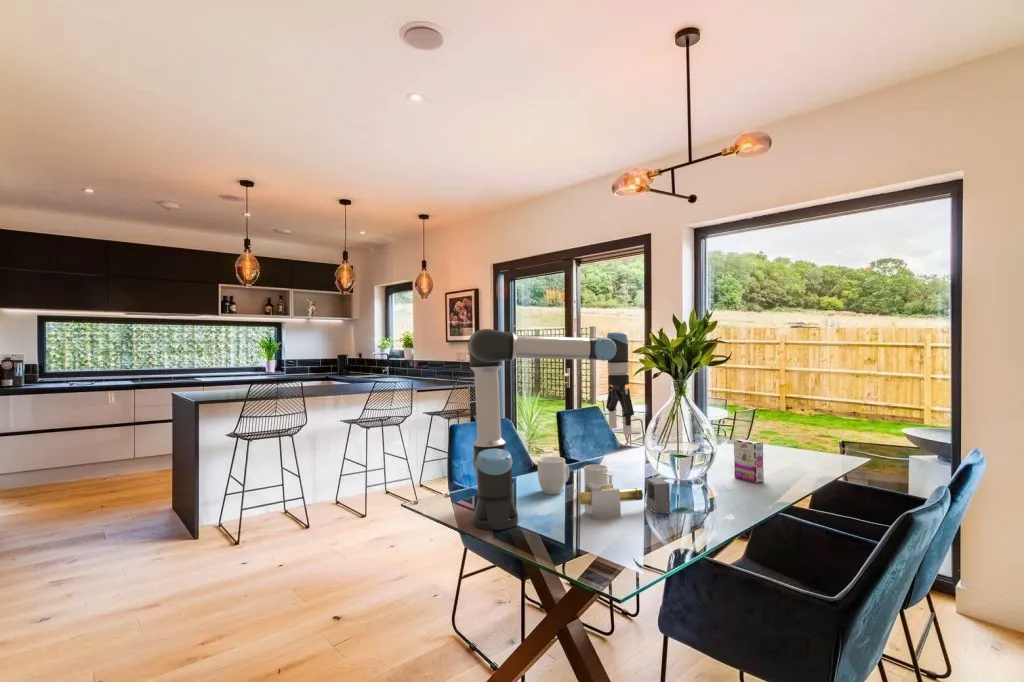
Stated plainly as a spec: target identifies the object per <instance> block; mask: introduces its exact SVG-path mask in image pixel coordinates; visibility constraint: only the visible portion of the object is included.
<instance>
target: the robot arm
mask: <svg viewBox="0 0 1024 682" xmlns="http://www.w3.org/2000/svg"><path fill="white" fill-rule="evenodd" d="M467 351H468V352H469V368H470V369H471V370H472V371H473V372H474V390H475V391H474V392H475V393H474V394H475V414H476V415H475V416H476V434H477V435H476V436H477V438H476V440H475V441H474V442H473V443H472V444H473V460H472V465H473V468H474V471H475V474H476V477H477V478H476V481H477V486H476V487H477V502H476V504H475V507H474V512H473V514H472V515H473V516H472V524H473V526H475V528H478V529H480V530H481V529H482V530H487V531H498V530H499V531H500V530H507V529H510V528H512V527H516V526H517V525H518V523H519V514H518V511H517V507H516V505H515V502H514V499H513V459H512V455H511V452H509V451H508V450H507V443H506V442H507V441H506V440H504V439H503V438H502V426H501V425H502V422H501V402H500V401H501V400H500V398H501V397H500V380H499V379H500V378H499V371H500V370H501V369H502V367H503V362H505V361H507V362H508V361H509V362H511V361H514V360H515V359H548V360H549V359H550V360H551V359H552V360H553V359H554V360H555V359H556V360H589V361H592V360H593V361H594V360H595V361H605V362H606V361H607V373H608V376H607V378H608V382H607V383H608V393H607V394H608V395H607V400H606V406H605V408H606V410H607V411H608V428H609V429H618V427H617V406H618V402H619V405H620V407H621V410H622V422H623V423H622V424H623V425H622V426H623V427H622V429H623V432H622V433H623V436H625V435H632V416H634V415H635V411H634V407H633V402H632V399H631V391H630V388H629V387H628V388H627V387H626V386H627V385H629V384H630V375H629V372H630V371H629V368H630V364H629V336H628V333H626V332H608V333H607V334H606V337H581V336H580V337H578V336H577V337H576V336H545V335H517V334H515V333H514V332H511V331H503V330H497V329H496V330H495V329H493V328H491V329H490V328H482V329H478V330H476V331H475V332H473V334H471V336H470V337H469V339H468V342H467Z"/></svg>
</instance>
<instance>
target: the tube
mask: <svg viewBox="0 0 1024 682" xmlns="http://www.w3.org/2000/svg"><path fill="white" fill-rule="evenodd" d="M577 494H578V495H577V499H578V504H579V505H580V506H582V505H583V506H585V504H591V492H585V491H584V492H578V493H577ZM643 497H644V494H643V490H642V488H640V487H635V488H625V489H624V488H623V489H622V488H621V489H620V503H621V502H622V503H623V502H633V501H642V500H643Z"/></svg>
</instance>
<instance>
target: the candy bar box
mask: <svg viewBox="0 0 1024 682" xmlns="http://www.w3.org/2000/svg"><path fill="white" fill-rule="evenodd" d="M733 453H734V454H733V459H734V461H733V463H734V464H733V465H734V467H733V468H734V478H735V479H738V480H741V481H745V482H750V483H752V484H761V483H764V481H765V479H764V443H763V442H760V441H757V440H750V439H749V440H748V439H745V438H737V439H733Z"/></svg>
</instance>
